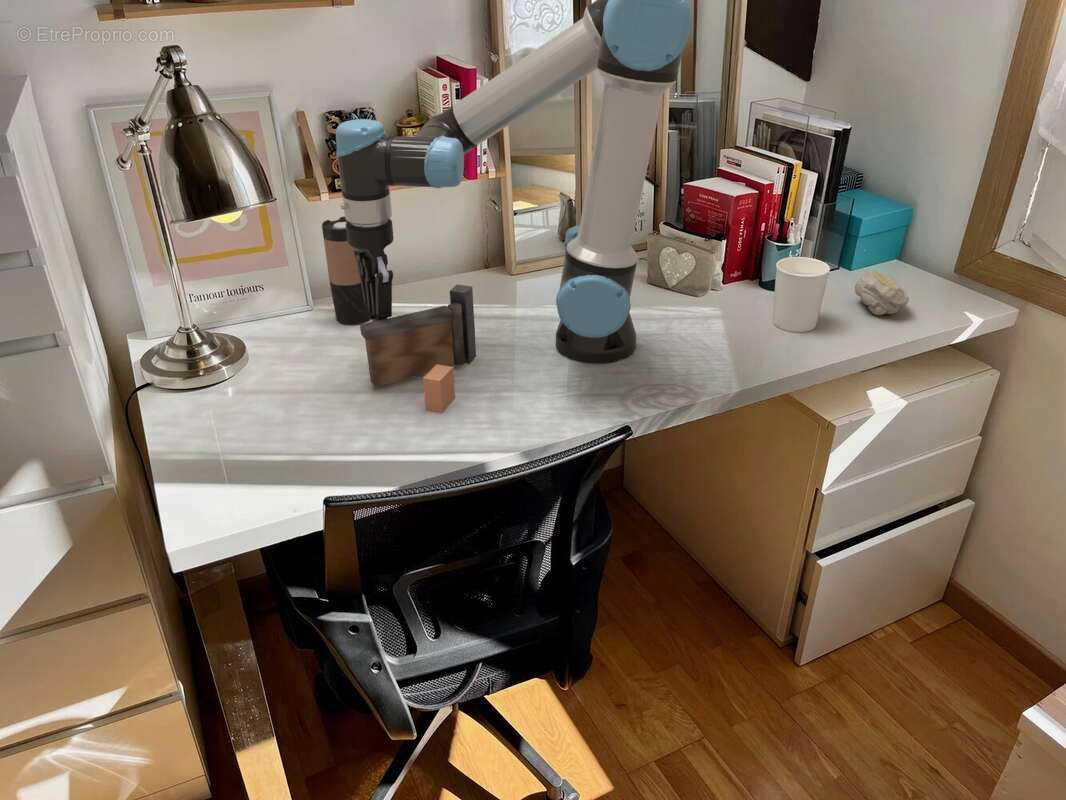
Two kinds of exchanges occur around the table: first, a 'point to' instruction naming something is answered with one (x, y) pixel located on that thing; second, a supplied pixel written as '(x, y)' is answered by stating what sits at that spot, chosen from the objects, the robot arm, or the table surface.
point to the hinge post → (466, 318)
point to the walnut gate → (414, 343)
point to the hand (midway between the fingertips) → (381, 348)
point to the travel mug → (343, 274)
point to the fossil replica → (880, 293)
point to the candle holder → (799, 293)
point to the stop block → (439, 388)
